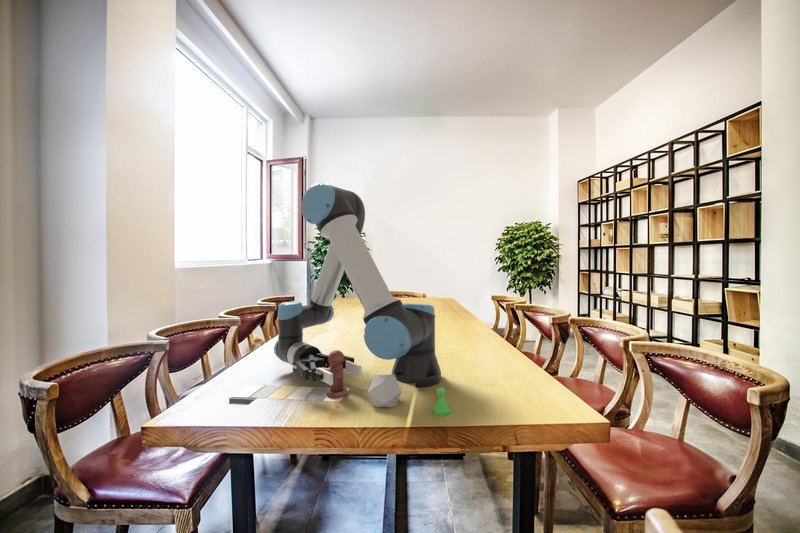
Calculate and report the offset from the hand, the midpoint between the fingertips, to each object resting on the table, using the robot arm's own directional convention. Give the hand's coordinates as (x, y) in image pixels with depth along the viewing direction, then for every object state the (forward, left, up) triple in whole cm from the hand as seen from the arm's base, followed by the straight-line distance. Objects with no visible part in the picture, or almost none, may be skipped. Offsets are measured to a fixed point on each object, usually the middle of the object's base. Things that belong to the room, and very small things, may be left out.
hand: (346, 375), depth 87 cm
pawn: (+4, -3, -6) cm, 8 cm away
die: (-10, 0, -8) cm, 13 cm away
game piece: (-24, +1, -8) cm, 25 cm away
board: (+16, -3, -8) cm, 18 cm away
